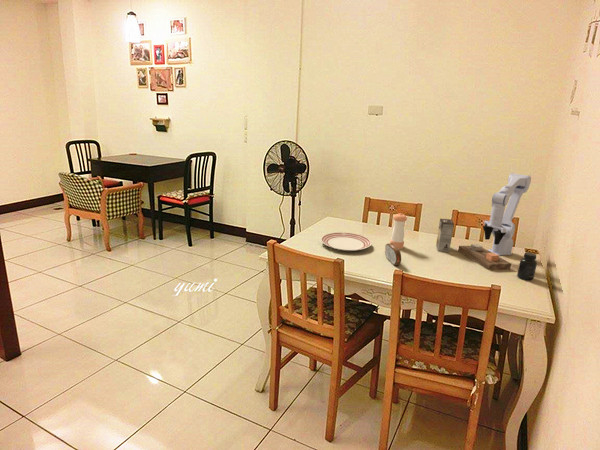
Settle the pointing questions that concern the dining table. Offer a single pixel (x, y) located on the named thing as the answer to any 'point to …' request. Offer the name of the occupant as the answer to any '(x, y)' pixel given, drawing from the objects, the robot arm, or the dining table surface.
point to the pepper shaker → (398, 230)
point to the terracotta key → (492, 256)
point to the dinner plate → (346, 241)
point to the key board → (484, 259)
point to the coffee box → (444, 235)
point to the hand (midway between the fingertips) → (491, 241)
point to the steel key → (476, 247)
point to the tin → (393, 254)
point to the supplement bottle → (527, 267)
